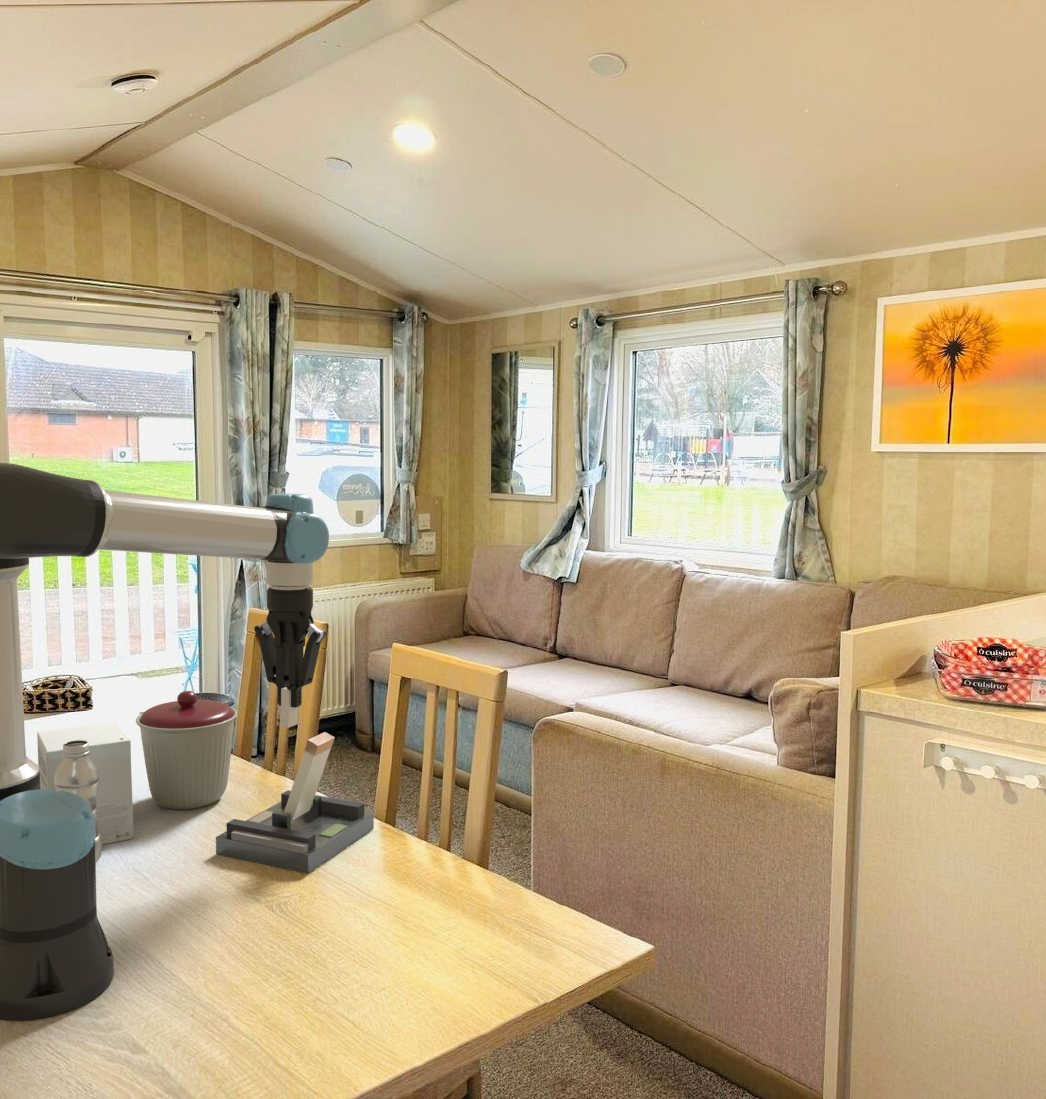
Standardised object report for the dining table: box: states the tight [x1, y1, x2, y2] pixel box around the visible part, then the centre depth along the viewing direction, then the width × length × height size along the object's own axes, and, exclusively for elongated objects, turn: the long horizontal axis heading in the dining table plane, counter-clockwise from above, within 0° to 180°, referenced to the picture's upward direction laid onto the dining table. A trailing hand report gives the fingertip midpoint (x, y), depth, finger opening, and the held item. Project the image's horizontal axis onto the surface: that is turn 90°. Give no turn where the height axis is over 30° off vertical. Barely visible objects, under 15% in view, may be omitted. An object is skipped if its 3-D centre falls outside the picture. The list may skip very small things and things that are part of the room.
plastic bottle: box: [54, 740, 103, 863], centre depth 155 cm, size 6×7×20 cm
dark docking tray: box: [226, 789, 365, 854], centre depth 166 cm, size 18×16×2 cm
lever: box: [284, 731, 335, 821], centre depth 165 cm, size 7×2×15 cm, turn 158°
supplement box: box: [36, 721, 134, 845], centre depth 168 cm, size 13×13×18 cm
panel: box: [215, 794, 375, 875], centre depth 167 cm, size 20×18×6 cm
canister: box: [135, 690, 239, 810], centre depth 184 cm, size 18×18×21 cm
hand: (289, 725), depth 165 cm, fingers closed
